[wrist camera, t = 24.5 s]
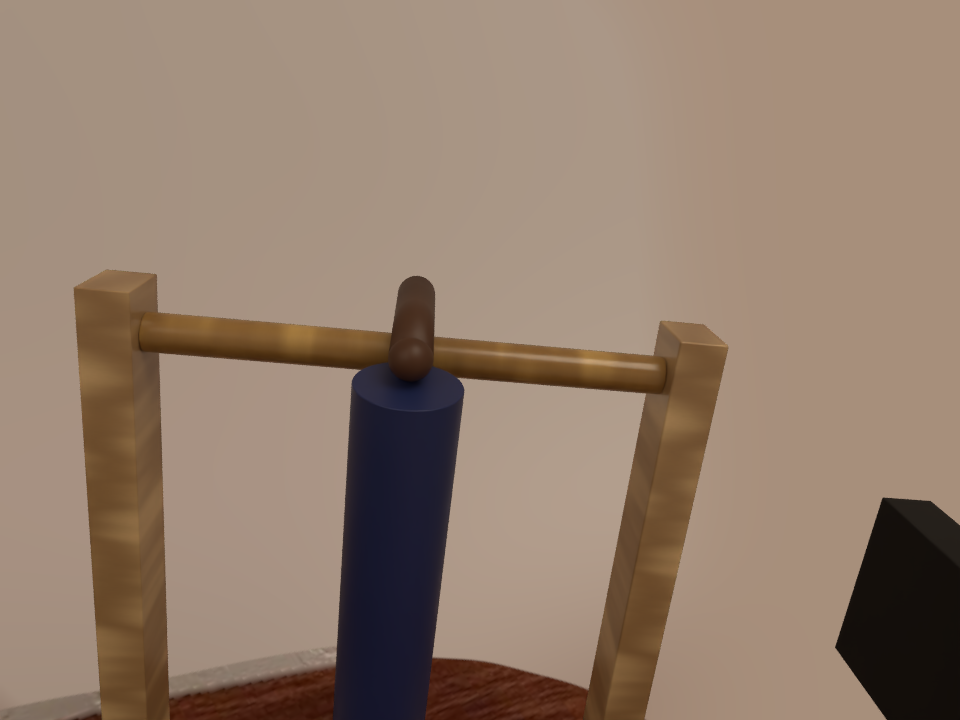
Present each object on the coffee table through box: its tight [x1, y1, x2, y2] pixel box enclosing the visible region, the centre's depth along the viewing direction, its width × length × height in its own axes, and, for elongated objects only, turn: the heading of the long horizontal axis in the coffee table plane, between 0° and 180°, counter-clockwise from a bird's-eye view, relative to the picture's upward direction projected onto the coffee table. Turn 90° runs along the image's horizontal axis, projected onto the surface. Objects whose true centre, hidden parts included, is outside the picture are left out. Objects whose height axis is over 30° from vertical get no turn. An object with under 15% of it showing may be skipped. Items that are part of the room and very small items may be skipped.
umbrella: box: [333, 276, 464, 720], centre depth 34 cm, size 10×4×26 cm, turn 3°
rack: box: [74, 270, 728, 720], centre depth 36 cm, size 25×8×31 cm, turn 93°
